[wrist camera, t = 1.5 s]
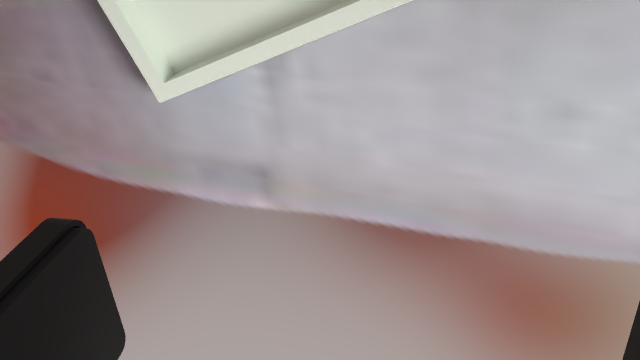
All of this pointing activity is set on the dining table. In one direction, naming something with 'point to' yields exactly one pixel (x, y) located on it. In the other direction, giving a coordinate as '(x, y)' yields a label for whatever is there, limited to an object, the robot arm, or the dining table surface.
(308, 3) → the coaster tray
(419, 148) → the dining table surface
